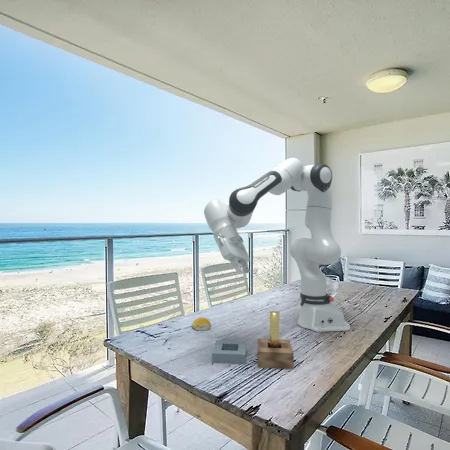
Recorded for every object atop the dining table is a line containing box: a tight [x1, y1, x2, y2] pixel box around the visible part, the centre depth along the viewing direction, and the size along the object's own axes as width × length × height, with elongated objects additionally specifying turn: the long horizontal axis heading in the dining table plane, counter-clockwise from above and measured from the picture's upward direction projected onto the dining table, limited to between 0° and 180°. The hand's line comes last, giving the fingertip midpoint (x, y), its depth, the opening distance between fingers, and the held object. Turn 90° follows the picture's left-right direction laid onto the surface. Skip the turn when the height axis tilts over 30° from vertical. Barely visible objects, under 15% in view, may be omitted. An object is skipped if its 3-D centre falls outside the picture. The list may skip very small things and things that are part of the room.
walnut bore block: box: [257, 337, 294, 370], centre depth 104 cm, size 11×11×6 cm
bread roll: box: [191, 317, 212, 331], centre depth 139 cm, size 8×9×4 cm
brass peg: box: [269, 310, 280, 348], centre depth 104 cm, size 3×3×16 cm
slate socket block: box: [211, 340, 247, 366], centre depth 108 cm, size 11×11×4 cm
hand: (243, 271), depth 112 cm, fingers open, 8 cm apart
